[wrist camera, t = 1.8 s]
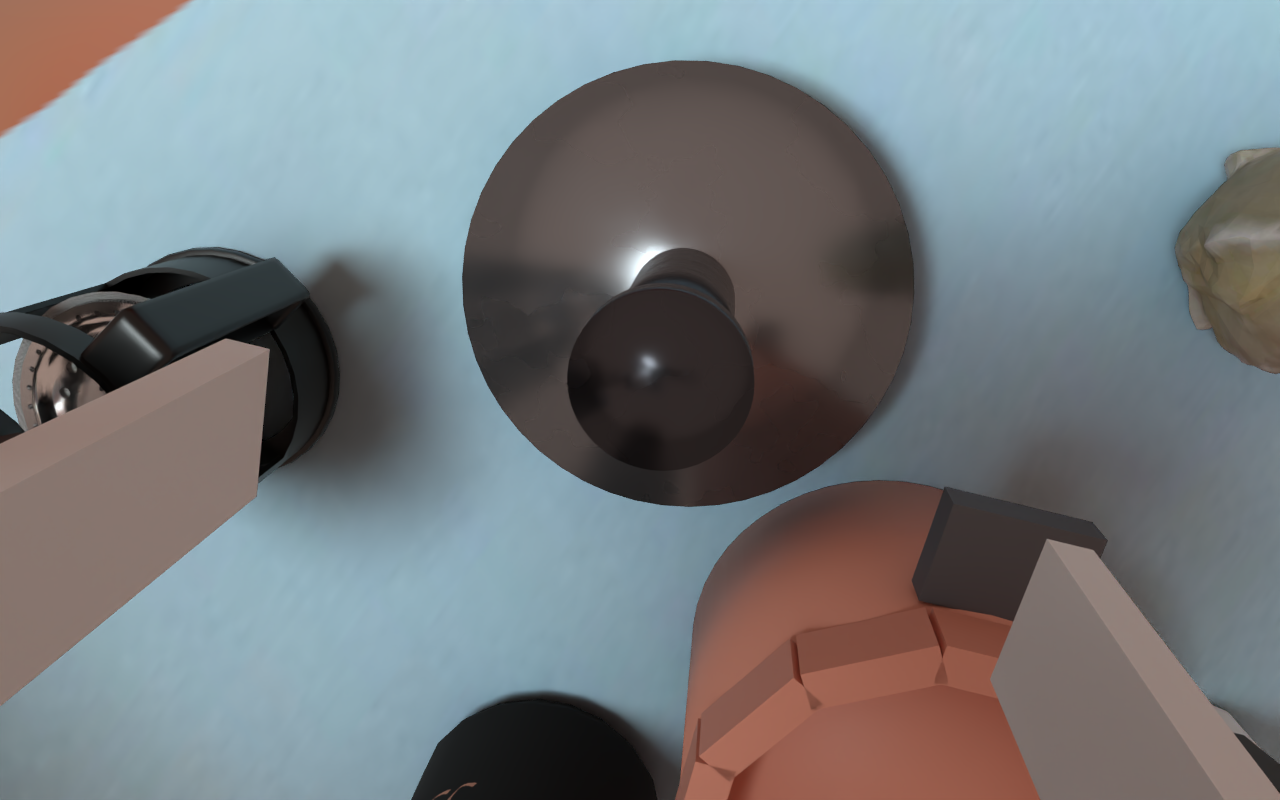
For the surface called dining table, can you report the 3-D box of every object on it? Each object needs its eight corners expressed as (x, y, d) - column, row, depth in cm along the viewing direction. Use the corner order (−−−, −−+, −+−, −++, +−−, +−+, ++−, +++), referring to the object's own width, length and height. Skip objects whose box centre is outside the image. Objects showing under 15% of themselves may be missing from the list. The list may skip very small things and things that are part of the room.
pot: (967, 885, 42) (1052, 1178, 31) (642, 803, 42) (608, 1062, 31) (1150, 459, 35) (1347, 632, 24) (761, 367, 36) (773, 493, 24)
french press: (231, 522, 40) (-373, 1029, 18) (63, 361, 38) (-820, 704, 17) (416, 349, 37) (-52, 714, 15) (240, 165, 35) (-568, 275, 13)
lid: (454, 426, 38) (320, 581, 26) (521, 18, 33) (392, -28, 21) (832, 517, 37) (878, 720, 25) (958, 119, 32) (1090, 131, 20)
